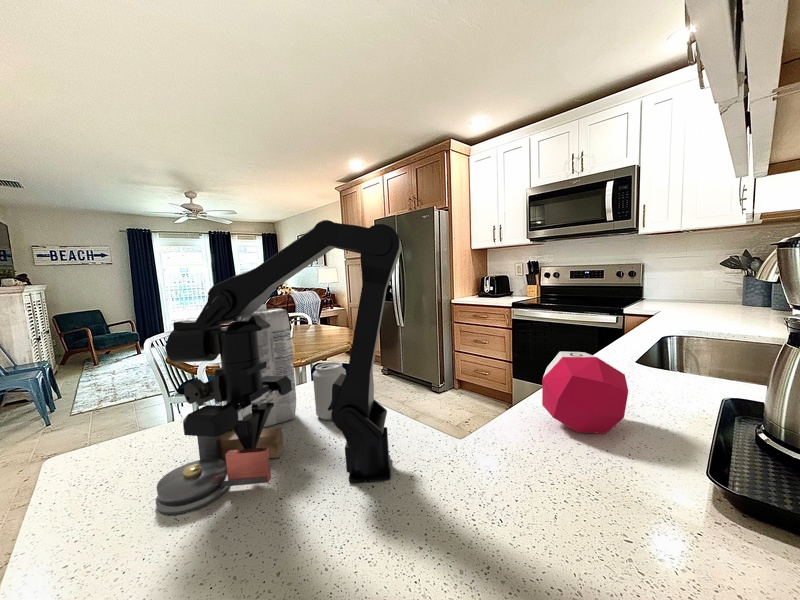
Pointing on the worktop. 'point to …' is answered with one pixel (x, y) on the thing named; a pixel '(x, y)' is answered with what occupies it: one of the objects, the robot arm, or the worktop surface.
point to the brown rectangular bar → (267, 439)
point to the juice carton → (276, 360)
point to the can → (325, 386)
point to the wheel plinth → (190, 504)
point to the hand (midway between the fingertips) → (250, 451)
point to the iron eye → (210, 447)
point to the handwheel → (214, 476)
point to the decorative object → (584, 392)
